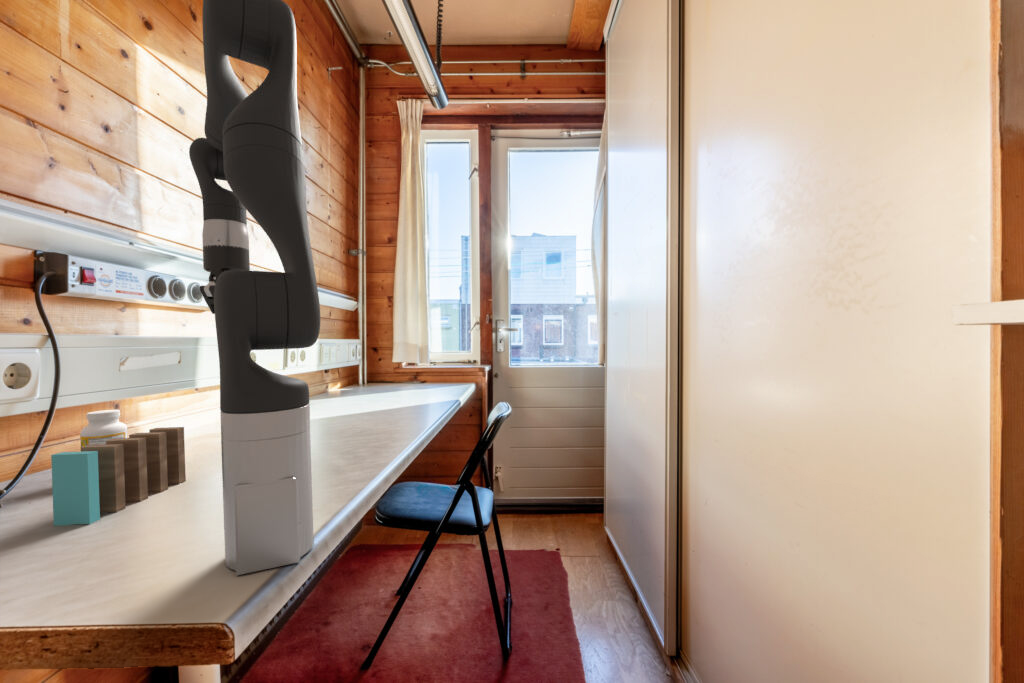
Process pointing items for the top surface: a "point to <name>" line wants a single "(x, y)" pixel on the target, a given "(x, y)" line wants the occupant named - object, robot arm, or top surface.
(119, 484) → the domino
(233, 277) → the robot arm
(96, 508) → the domino
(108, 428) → the supplement bottle
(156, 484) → the domino
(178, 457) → the domino
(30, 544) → the top surface
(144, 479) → the domino
